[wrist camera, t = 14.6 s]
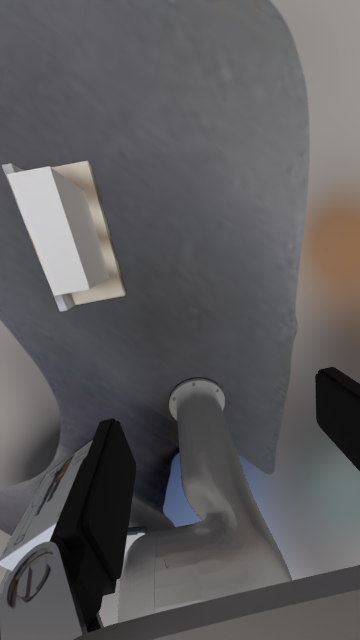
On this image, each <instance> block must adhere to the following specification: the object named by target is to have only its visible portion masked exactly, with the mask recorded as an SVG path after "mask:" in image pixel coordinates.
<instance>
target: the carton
mask: <svg viewBox="0 0 360 640" xmlns="http://www.w3.org/2000/svg"><path fill="white" fill-rule="evenodd" d="M7 177H8V179H9V182H10V185H11V187H12V190H13V192H14V195H15V197H16V200H17V202H18V205H19V208H20V210H21V213H22V215H23V218H24V220H25V223H26V225H27V228H28V231H29V233H30V236H31V238H32V241H33V243H34V246H35V248H36V251H37V254H38V256H39V259H40V261H41V264H42V266H43V269H44V271H45V274H46V277H47V279H48V282H49V284H50V287H51V289H52V292H53V294H54V296H56V295H61V294H67V293H72V292H77V291H83V290H88V289H91V288H93V287H95V286H96V285H98V284H100V283H102V282H103V281H105V280H107V279H109V274H108V271H107V267H106V264H105V260H104V257H103V253H102V250H101V246H100V243H99V239H98V236H97V232H96V229H95V225H94V222H93V218H92V215H91V211H90V208H89V205H88V201H87V198H86V194H85V191H84V190H82V189H81V188H79V187H78V186H77V185H75V184H74V183H72V182H71V181H69V180H68V179H67V178H65V177H64V176H62V175H61V174H60V173H58V172H57V171H55V170H54V169H53V168H51V167H50V166H49V167H44V168H38V169H33V170H27V171H21V172H16V173H10V174H7Z"/></svg>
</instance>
